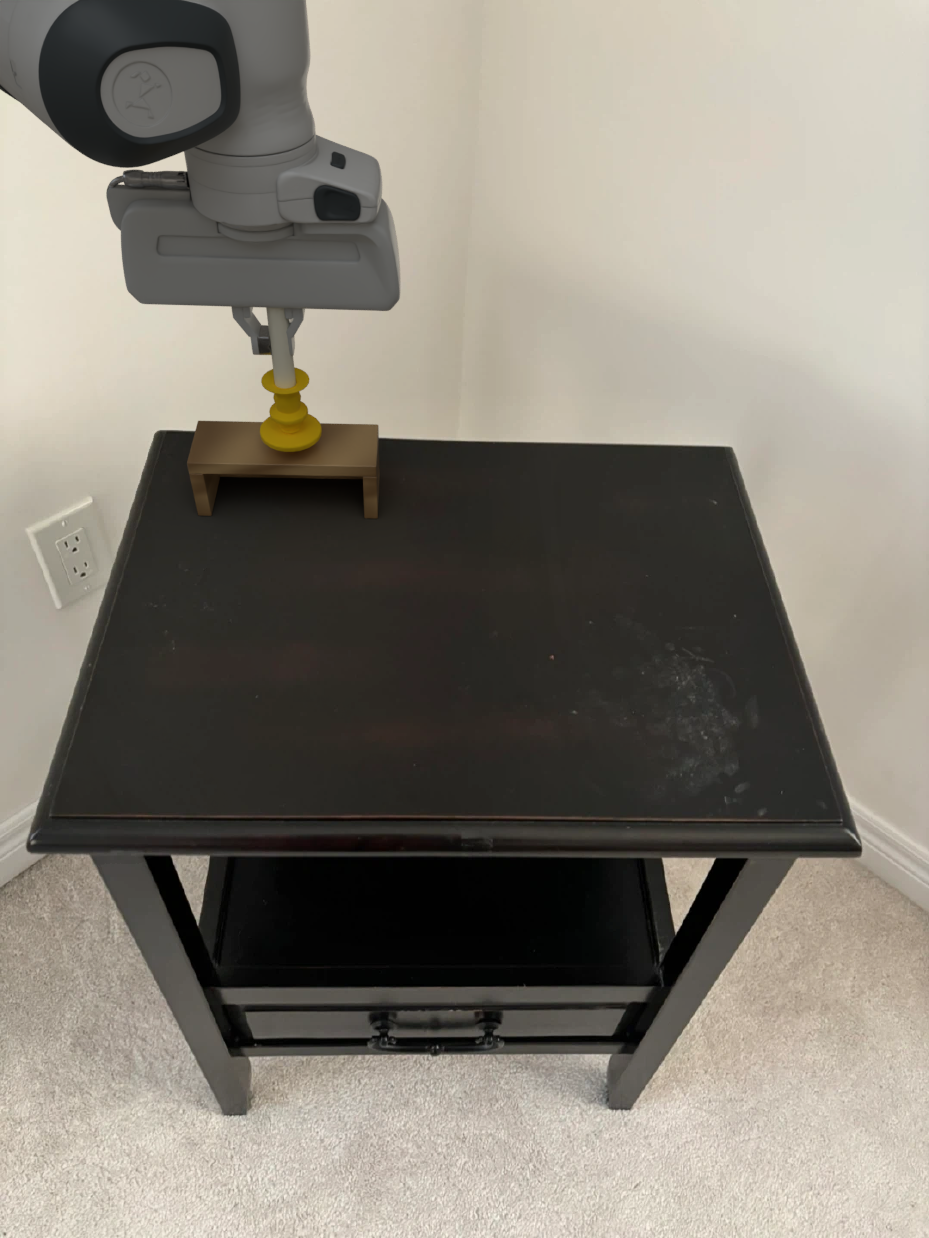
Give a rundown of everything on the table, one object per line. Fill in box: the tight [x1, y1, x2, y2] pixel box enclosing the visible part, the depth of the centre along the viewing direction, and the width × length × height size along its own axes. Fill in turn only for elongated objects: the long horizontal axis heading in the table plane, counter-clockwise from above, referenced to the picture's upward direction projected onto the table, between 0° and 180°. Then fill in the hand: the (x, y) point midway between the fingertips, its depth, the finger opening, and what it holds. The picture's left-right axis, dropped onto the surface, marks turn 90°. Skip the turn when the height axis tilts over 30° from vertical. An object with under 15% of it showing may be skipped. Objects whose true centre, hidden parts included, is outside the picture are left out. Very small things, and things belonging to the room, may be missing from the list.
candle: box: [260, 308, 322, 452], centre depth 74 cm, size 5×5×16 cm
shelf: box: [186, 420, 381, 520], centre depth 83 cm, size 16×6×6 cm, turn 92°
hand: (274, 351), depth 74 cm, fingers closed on candle
